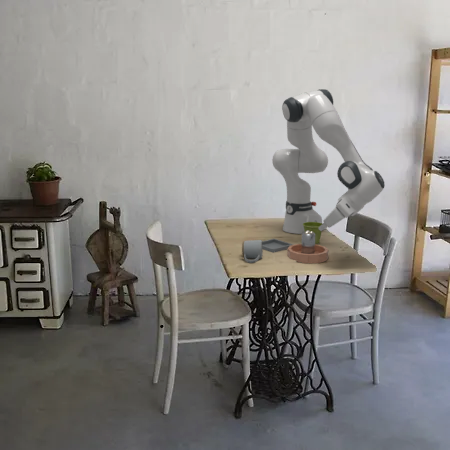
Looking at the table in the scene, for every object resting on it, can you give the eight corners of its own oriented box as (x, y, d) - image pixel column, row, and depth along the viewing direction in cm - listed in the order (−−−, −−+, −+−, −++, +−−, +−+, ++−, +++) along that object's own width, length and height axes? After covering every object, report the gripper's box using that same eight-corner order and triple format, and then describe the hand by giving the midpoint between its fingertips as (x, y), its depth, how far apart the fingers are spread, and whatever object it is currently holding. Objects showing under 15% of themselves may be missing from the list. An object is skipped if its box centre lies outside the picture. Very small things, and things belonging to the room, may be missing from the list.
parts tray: (274, 242, 255) (274, 238, 254) (293, 248, 246) (293, 244, 245) (253, 247, 247) (254, 243, 247) (273, 254, 238) (273, 249, 238)
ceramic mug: (242, 255, 237) (242, 237, 235) (262, 255, 236) (263, 237, 234) (241, 263, 226) (241, 244, 224) (261, 264, 226) (262, 245, 224)
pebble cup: (307, 252, 238) (308, 228, 235) (317, 255, 233) (318, 231, 231) (298, 254, 234) (299, 230, 232) (308, 257, 230) (309, 233, 228)
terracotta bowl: (306, 249, 245) (307, 241, 244) (335, 258, 233) (336, 250, 232) (279, 256, 235) (280, 248, 234) (308, 265, 223) (308, 257, 222)
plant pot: (323, 241, 258) (324, 222, 256) (322, 246, 249) (323, 227, 247) (302, 239, 260) (303, 221, 257) (301, 245, 251) (301, 226, 249)
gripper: (348, 194, 232) (324, 215, 238) (337, 203, 214) (311, 226, 220) (359, 205, 231) (334, 226, 237) (348, 216, 213) (321, 238, 219)
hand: (322, 226), depth 228 cm, fingers open, 8 cm apart
